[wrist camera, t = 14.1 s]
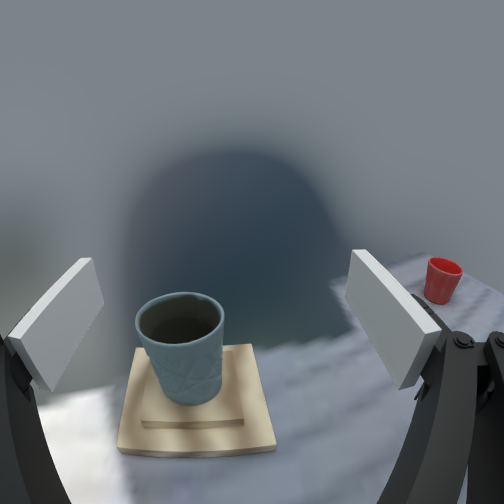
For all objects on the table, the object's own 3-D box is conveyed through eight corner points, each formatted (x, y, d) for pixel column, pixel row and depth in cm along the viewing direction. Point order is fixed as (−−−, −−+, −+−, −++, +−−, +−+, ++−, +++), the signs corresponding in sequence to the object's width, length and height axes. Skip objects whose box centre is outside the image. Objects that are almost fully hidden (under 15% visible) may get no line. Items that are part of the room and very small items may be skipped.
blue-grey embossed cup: (233, 364, 38) (231, 296, 33) (218, 419, 29) (211, 352, 24) (169, 353, 39) (156, 287, 35) (144, 402, 30) (118, 334, 25)
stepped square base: (250, 352, 46) (251, 334, 45) (275, 450, 28) (278, 437, 26) (138, 356, 43) (133, 339, 42) (121, 453, 25) (111, 439, 23)
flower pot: (457, 299, 60) (467, 267, 56) (444, 312, 55) (456, 277, 51) (429, 284, 68) (437, 253, 64) (412, 295, 63) (422, 261, 59)
